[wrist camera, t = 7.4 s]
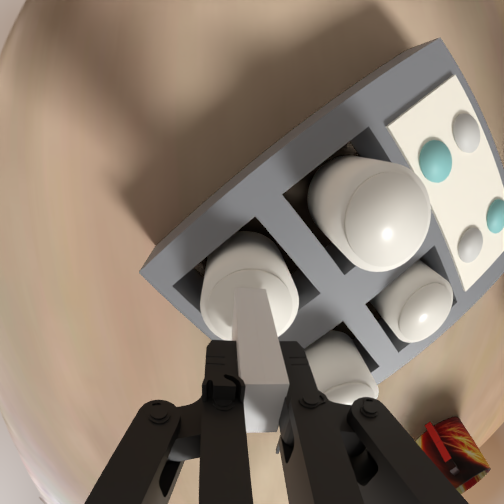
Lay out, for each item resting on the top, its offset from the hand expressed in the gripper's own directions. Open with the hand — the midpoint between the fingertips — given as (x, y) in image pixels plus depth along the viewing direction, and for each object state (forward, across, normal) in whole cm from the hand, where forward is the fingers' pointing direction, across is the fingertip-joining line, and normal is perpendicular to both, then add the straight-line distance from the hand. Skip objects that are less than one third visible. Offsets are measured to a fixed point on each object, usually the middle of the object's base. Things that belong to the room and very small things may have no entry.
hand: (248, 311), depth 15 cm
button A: (+6, +12, -1) cm, 14 cm away
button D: (+6, 0, 0) cm, 6 cm away
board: (+7, +9, +2) cm, 12 cm away
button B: (+4, +6, -6) cm, 10 cm away
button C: (+4, +6, +6) cm, 9 cm away
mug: (+7, +32, -29) cm, 43 cm away
